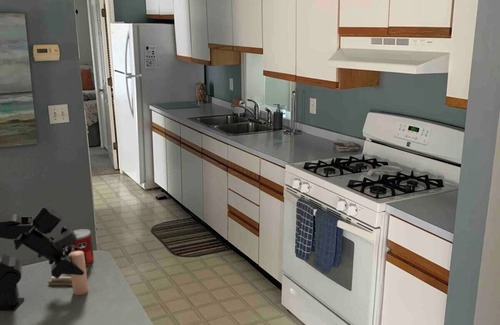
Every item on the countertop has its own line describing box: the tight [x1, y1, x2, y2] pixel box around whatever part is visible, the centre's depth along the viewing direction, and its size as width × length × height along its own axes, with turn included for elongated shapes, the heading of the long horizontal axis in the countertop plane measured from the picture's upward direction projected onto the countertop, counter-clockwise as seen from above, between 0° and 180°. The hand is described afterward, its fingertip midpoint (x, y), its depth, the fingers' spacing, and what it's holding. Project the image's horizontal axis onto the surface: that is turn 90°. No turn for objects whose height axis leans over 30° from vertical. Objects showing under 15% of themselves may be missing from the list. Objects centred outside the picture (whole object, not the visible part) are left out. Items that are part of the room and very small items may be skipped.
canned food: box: [70, 228, 95, 266], centre depth 183 cm, size 8×8×11 cm
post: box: [68, 251, 89, 296], centre depth 162 cm, size 5×5×13 cm
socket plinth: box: [47, 267, 89, 286], centre depth 172 cm, size 10×10×2 cm
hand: (83, 270), depth 162 cm, fingers closed on post, 5 cm apart
